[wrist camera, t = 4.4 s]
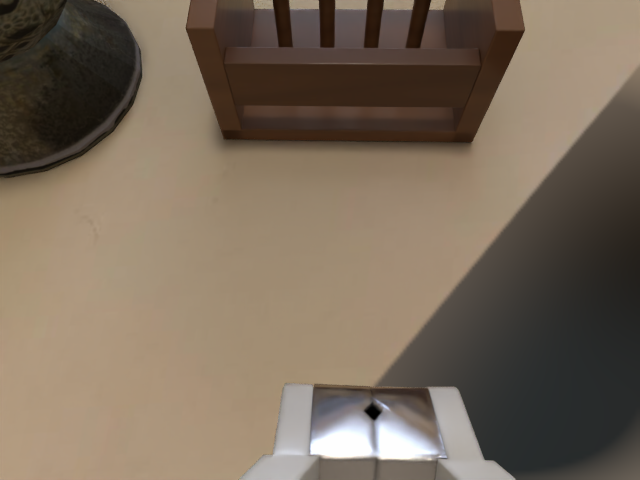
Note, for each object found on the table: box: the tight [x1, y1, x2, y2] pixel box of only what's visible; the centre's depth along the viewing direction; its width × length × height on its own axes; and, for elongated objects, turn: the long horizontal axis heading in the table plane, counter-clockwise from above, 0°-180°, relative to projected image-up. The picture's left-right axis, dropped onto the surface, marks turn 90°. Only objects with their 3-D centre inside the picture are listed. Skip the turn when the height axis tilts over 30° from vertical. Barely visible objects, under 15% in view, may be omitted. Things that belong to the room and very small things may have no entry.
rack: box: [186, 0, 525, 142], centre depth 25 cm, size 9×14×8 cm, turn 89°
